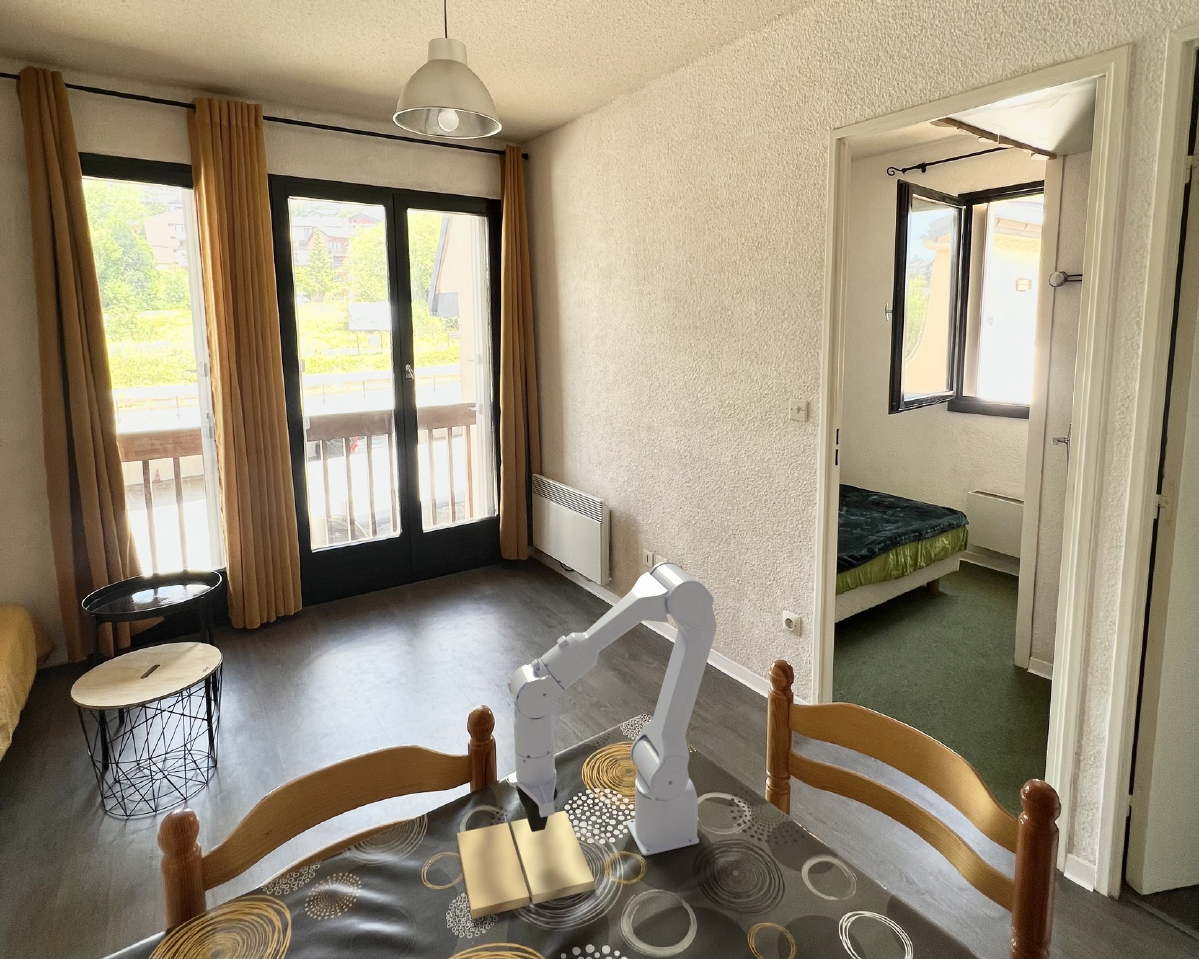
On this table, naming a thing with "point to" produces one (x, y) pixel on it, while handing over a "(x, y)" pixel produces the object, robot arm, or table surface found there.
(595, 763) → the table surface
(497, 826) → the laid oak board
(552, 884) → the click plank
